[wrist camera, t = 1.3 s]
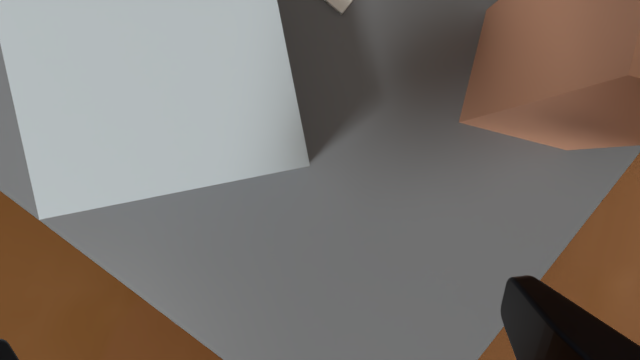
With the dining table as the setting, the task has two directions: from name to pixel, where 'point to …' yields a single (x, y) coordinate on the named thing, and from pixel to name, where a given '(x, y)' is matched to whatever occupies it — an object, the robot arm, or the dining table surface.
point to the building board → (352, 203)
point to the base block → (148, 97)
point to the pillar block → (558, 73)
